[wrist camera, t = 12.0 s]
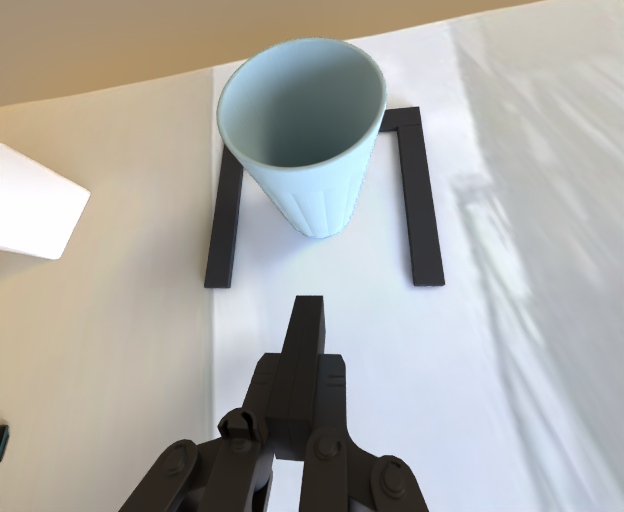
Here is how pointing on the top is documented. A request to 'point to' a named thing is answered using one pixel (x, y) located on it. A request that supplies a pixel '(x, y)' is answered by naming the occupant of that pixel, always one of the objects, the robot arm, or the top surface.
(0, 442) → the build plate
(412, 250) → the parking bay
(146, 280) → the top surface
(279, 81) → the cup
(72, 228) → the medicine bottle
